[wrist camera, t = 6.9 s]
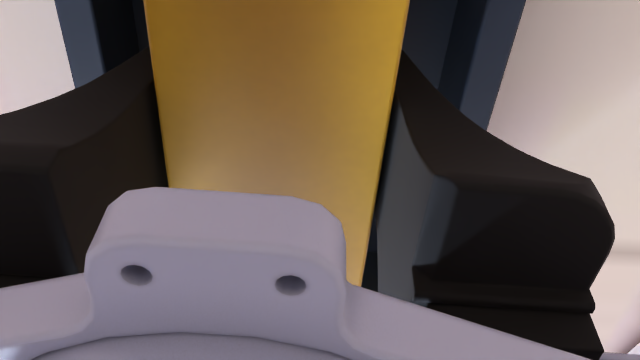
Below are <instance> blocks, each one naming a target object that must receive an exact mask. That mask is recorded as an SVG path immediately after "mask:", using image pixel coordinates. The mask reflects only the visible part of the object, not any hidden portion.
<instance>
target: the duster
mask: <svg viewBox="0 0 640 360" xmlns="http://www.w3.org/2000/svg"><path fill="white" fill-rule="evenodd" d="M143 3H144V10H145V17H146V25H147V32H148V40H149V47H150V54H151V62H152V69H153V77H154V84H155V91H156V99H157V106H158V113H159V121H160V128H161V136H162V143H163V150H164V158H165V165H166V173H167V180H168V187H169V188H181V189H195V190H210V191H224V192H239V193H253V194H268V195H282V196H292V197H296V198H300V199H303V200H307V201H311V202H314V203H318V204H321V205H322V206H323V207H325V208H326V209H327V210H328V211H329V212H330V213H332V214H333V215H334V216H335V217H336V218H337V219H338V220H340V221H341V224H342V228H343V232H344V236H345V240H346V280H347V281H348V282H349V283H351V284H353V285H356V286H359V287H361V285H362V279H363V273H364V267H365V261H366V256H367V250H368V244H369V238H370V232H371V226H372V220H373V214H374V209H375V203H376V197H377V191H378V185H379V179H380V173H381V168H382V162H383V156H384V150H385V144H386V138H387V132H388V127H389V121H390V115H391V109H392V103H393V97H394V91H395V85H396V80H397V74H398V68H399V62H400V56H401V50H402V44H403V39H404V33H405V27H406V21H407V15H408V9H409V3H410V0H143Z"/></svg>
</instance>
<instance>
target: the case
mask: <svg viewBox="0 0 640 360" xmlns="http://www.w3.org/2000/svg"><path fill="white" fill-rule="evenodd" d="M54 1H55V5H56V9H57V13H58V18H59V22H60V26H61V30H62V35H63V39H64V43H65V47H66V51H67V56H68V60H69V64H70V68H71V73H72V77H73V81H74V85H75V89H76V88H78V87H80V86H82V85H84V84H87V83H88V82H90V81H92V80H94V79H96V78H98V77H99V76H101V75H103V74H105V73H106V72H108V71H110V70H112V69H113V68H115V67H117V66H119V65H120V64H122V63H124V62H125V61H127V60H128V59H130V58H131V57H133V56H134V55H136V54H137V53H139V52H140V51H142V50H143V49H145V48H146V47H148V46H149V40H148V32H147V25H146V17H145V10H144V3H143V0H54ZM525 2H526V0H410V3H409V9H408V15H407V21H406V27H405V33H404V39H403V44H402V50H403V51H404V52H405V53H406V54H407V55H408V56H409V58H410V59H411V60H412V61H413V63H414V64H415V65H416V66H417V68H418V69H419V70H420V71H421V72H422V73H423V75H424V76H425V77H426V78H427V79H428V80H429V81H430V83H431V84H432V85H433V86H434V87H435V88H436V89H437V90H438V91H439V92H440V93H441V94H442V95H443V96H444V97H445V98H446V99H447V100H448V101H449V102H450V103H451V104H452V105H454V106H455V107H456V108H457V109H458V110H459V111H460V112H462V113H463V114H464V115H465V116H466V117H468V118H469V119H470V120H472V121H473V122H474V123H476V124H477V125H479V126H480V127H481V128H483V129H484V130H486V131H487V128H488V124H489V121H490V118H491V114H492V111H493V108H494V104H495V101H496V98H497V95H498V91H499V88H500V85H501V81H502V78H503V75H504V71H505V68H506V65H507V62H508V58H509V55H510V52H511V48H512V45H513V42H514V39H515V35H516V32H517V29H518V25H519V22H520V19H521V15H522V12H523V9H524V6H525ZM361 287H362V288H365V289H369V290H372V291H375V292H378V250H377V229H376V220H375V213H374V214H373V220H372V226H371V232H370V238H369V244H368V250H367V256H366V261H365V267H364V273H363V279H362V285H361Z"/></svg>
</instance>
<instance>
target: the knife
mask: <svg viewBox="0 0 640 360" xmlns="http://www.w3.org/2000/svg"><path fill="white" fill-rule="evenodd" d="M627 354H638V355H640V343H638V344H637V345H636V346H635V347H634V348H633V349H632V350H631V351H630V352H628V353H627Z"/></svg>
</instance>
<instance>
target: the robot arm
mask: <svg viewBox="0 0 640 360" xmlns="http://www.w3.org/2000/svg"><path fill="white" fill-rule="evenodd" d="M374 213H375V220H376V229H377V250H378V292H375V291H372V290H369V289H365V288H362V287H359V286H356V285H353V284H351V283H349V282H348V281H347V280H346V240H345V236H344V232H343V228H342V224H341V221H340V220H338V219H337V218H336V217H335V216H334V215H333V214H332V213H330V212H329V211H328V210H327V209H326V208H325V207H323V206H322V205H321V204H318V203H314V202H311V201H307V200H303V199H300V198H296V197H292V196H282V195H268V194H253V193H239V192H224V191H210V190H195V189H181V188H169V187H168V180H167V173H166V165H165V158H164V150H163V143H162V136H161V128H160V121H159V113H158V106H157V99H156V91H155V84H154V77H153V69H152V62H151V54H150V47H149V46H148V47H146V48H145V49H143V50H142V51H140V52H139V53H137V54H136V55H134V56H133V57H131V58H130V59H128V60H127V61H125V62H124V63H122V64H120V65H119V66H117V67H115V68H113V69H112V70H110V71H108V72H106V73H105V74H103V75H101V76H99V77H98V78H96V79H94V80H92V81H90V82H88V83H87V84H84V85H82V86H80V87H78V88H76V89H74V90H72V91H69V92H67V93H65V94H62V95H60V96H57V97H55V98H52V99H50V100H47V101H44V102H41V103H38V104H35V105H32V106H29V107H26V108H23V109H20V110H17V111H13V112H10V113H6V114H2V115H0V360H640V355H638V354H622V353H607V352H604V349H603V347H602V344H601V342H600V339H599V336H598V334H597V331H596V329H595V326H594V324H593V321H592V319H591V316H590V314H589V313H593V312H594V310H595V302H594V299H593V297H592V295H591V292H590V290H589V289H590V287H591V285H592V283H593V282H594V280H595V278H596V276H597V274H598V273H599V271H600V269H601V267H602V265H603V264H604V262H605V260H606V258H607V257H608V255H609V253H610V250H611V248H612V245H613V242H614V239H615V229H614V223H613V221H612V219H611V217H610V215H609V213H608V210H607V208H606V206H605V204H604V202H603V200H602V197H601V196H600V194H599V192H598V190H597V189H596V187H595V185H594V184H593V182H592V181H591V179H590V178H587V177H584V176H581V175H579V174H576V173H573V172H570V171H567V170H564V169H562V168H559V167H556V166H553V165H550V164H548V163H546V162H543V161H541V160H539V159H537V158H535V157H532V156H530V155H528V154H526V153H524V152H522V151H520V150H518V149H516V148H514V147H512V146H510V145H509V144H507V143H505V142H504V141H502V140H500V139H498V138H497V137H495V136H493V135H492V134H490V133H489V132H487V131H486V130H484V129H483V128H481V127H480V126H479V125H477V124H476V123H474V122H473V121H472V120H470V119H469V118H468V117H466V116H465V115H464V114H463V113H462V112H460V111H459V110H458V109H457V108H456V107H455V106H454V105H452V104H451V103H450V102H449V101H448V100H447V99H446V98H445V97H444V96H443V95H442V94H441V93H440V92H439V91H438V90H437V89H436V88H435V87H434V86H433V85H432V84H431V83H430V81H429V80H428V79H427V78H426V77H425V76H424V75H423V73H422V72H421V71H420V70H419V69H418V68H417V66H416V65H415V64H414V63H413V61H412V60H411V59H410V58H409V56H408V55H407V54H406V53H405V52H404V51H403V50H401V56H400V62H399V68H398V74H397V80H396V85H395V91H394V97H393V103H392V109H391V115H390V121H389V127H388V132H387V138H386V144H385V150H384V156H383V162H382V168H381V173H380V179H379V185H378V191H377V197H376V203H375V209H374Z"/></svg>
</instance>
